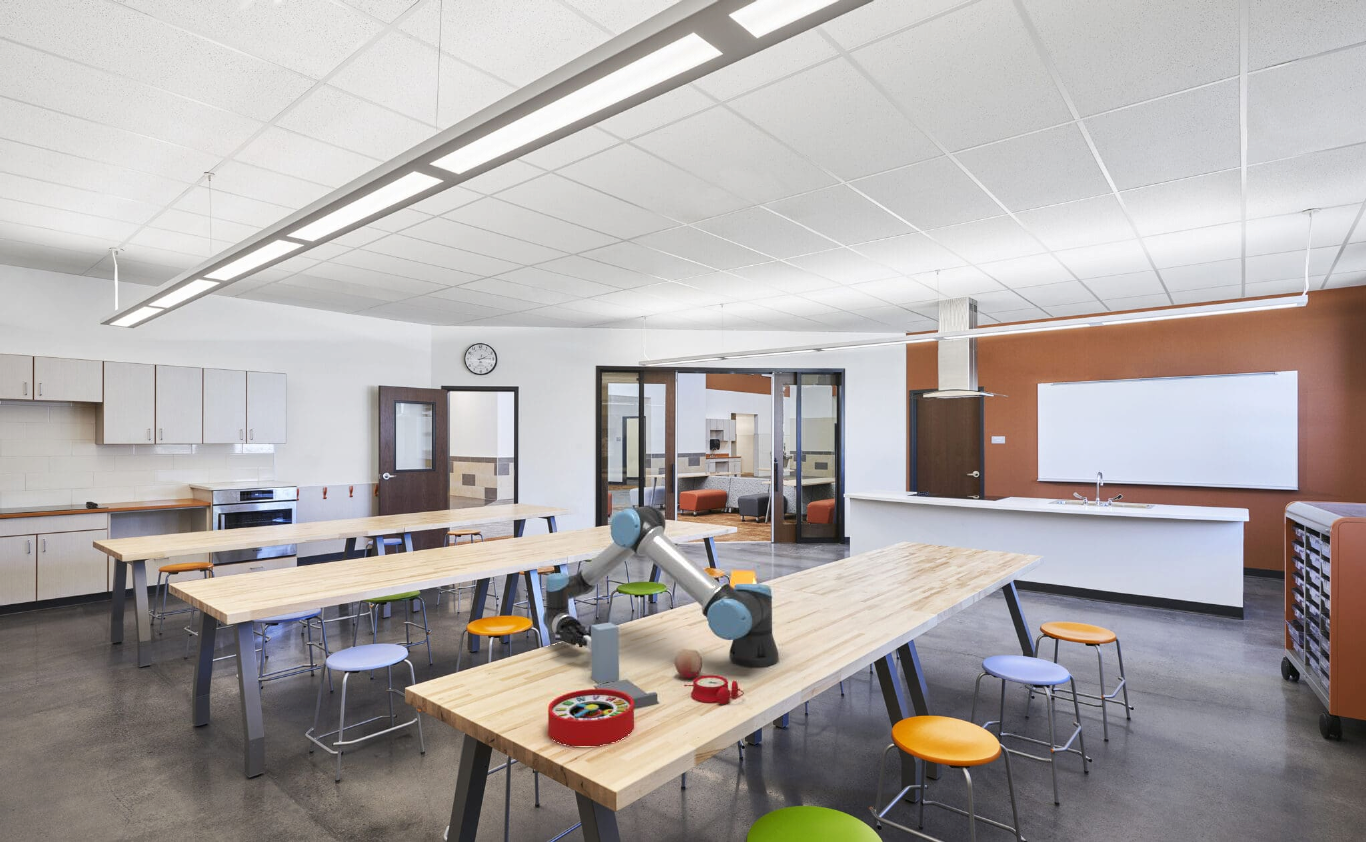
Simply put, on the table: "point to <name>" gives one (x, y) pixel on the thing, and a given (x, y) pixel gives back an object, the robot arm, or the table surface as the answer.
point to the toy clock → (591, 717)
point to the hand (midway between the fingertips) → (593, 645)
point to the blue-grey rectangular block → (605, 652)
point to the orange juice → (742, 577)
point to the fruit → (688, 663)
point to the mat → (631, 692)
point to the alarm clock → (713, 689)
